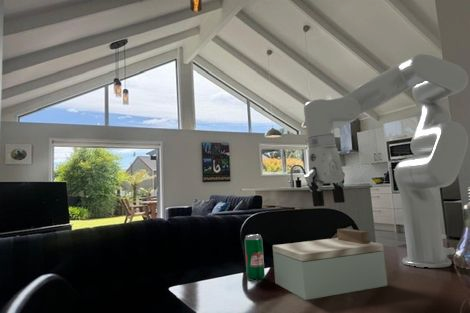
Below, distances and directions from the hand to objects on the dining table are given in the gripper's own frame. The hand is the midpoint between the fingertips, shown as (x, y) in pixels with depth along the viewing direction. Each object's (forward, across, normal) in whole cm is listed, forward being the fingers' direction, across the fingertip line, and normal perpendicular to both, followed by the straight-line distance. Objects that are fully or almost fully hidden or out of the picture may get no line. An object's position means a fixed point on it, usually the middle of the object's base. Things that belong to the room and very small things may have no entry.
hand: (329, 204), depth 92 cm
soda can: (+19, -15, +17) cm, 30 cm away
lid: (+11, -8, -2) cm, 14 cm away
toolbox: (+19, -8, -2) cm, 21 cm away
